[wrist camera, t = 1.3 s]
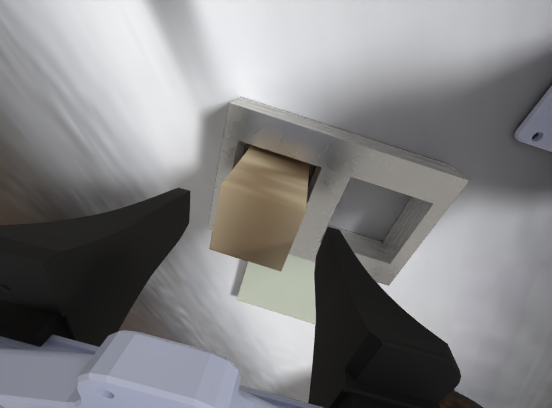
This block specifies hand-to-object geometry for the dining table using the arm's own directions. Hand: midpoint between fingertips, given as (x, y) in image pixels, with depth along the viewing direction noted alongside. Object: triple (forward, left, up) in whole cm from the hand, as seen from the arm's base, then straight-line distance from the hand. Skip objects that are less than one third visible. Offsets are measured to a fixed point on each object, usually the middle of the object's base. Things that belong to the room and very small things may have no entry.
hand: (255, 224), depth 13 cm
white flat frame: (-4, 0, -6) cm, 7 cm away
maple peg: (0, 0, -6) cm, 6 cm away
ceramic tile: (-5, +9, -6) cm, 12 cm away
